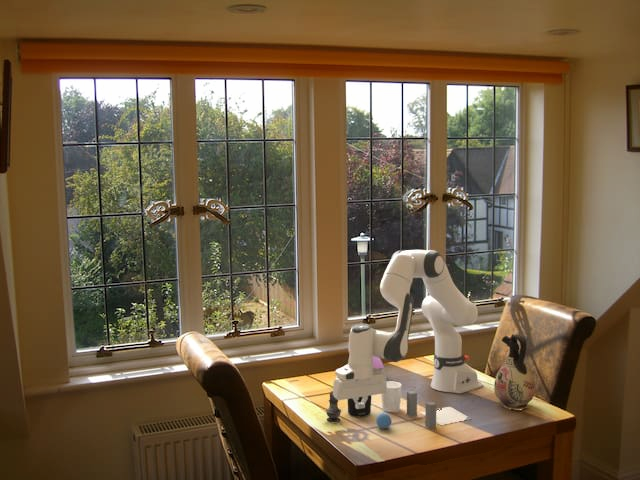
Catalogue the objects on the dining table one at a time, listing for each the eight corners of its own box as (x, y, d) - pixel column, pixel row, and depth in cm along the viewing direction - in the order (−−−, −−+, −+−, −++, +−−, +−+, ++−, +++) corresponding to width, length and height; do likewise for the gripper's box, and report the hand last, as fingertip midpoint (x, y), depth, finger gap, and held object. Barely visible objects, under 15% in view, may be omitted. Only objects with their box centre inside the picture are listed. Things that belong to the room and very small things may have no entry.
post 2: (431, 425, 255) (432, 401, 253) (436, 427, 252) (436, 403, 251) (425, 426, 253) (425, 402, 252) (429, 429, 251) (429, 405, 250)
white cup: (388, 414, 265) (388, 389, 264) (377, 407, 272) (377, 383, 271) (405, 410, 269) (405, 385, 267) (393, 404, 276) (394, 380, 274)
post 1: (412, 413, 266) (413, 390, 265) (416, 415, 264) (417, 392, 262) (406, 414, 265) (406, 391, 264) (410, 416, 262) (410, 394, 261)
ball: (386, 424, 255) (386, 409, 255) (394, 429, 250) (394, 415, 250) (373, 426, 253) (373, 412, 252) (380, 432, 248) (381, 417, 247)
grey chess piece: (325, 417, 263) (325, 386, 261) (340, 416, 263) (340, 386, 262) (326, 423, 257) (326, 391, 255) (342, 422, 257) (342, 391, 256)
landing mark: (449, 407, 272) (449, 406, 272) (471, 419, 260) (471, 418, 260) (419, 412, 266) (419, 412, 266) (440, 425, 254) (440, 425, 254)
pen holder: (343, 415, 264) (343, 390, 263) (352, 407, 273) (352, 382, 272) (366, 419, 261) (366, 393, 259) (374, 410, 269) (375, 385, 268)
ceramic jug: (485, 402, 277) (487, 329, 273) (517, 397, 283) (519, 326, 279) (512, 417, 261) (514, 340, 257) (545, 412, 267) (548, 336, 263)
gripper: (381, 364, 252) (381, 401, 254) (331, 371, 243) (330, 409, 245) (390, 369, 246) (389, 406, 248) (339, 376, 238) (338, 415, 239)
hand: (360, 408), depth 246 cm, fingers closed
